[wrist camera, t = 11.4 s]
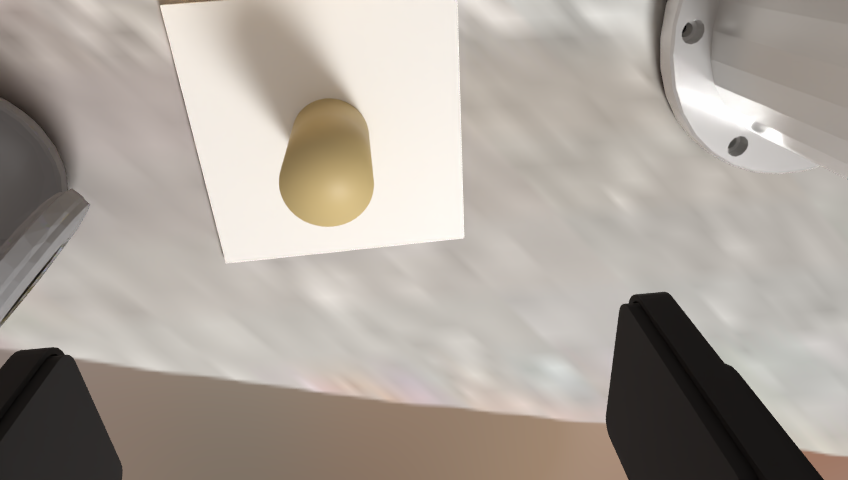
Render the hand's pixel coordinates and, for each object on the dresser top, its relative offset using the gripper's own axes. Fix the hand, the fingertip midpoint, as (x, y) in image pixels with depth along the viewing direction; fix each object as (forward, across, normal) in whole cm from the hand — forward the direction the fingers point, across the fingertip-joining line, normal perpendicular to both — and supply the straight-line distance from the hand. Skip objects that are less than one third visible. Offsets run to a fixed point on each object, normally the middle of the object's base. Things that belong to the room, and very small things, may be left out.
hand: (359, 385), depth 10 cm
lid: (+15, +2, 0) cm, 15 cm away
